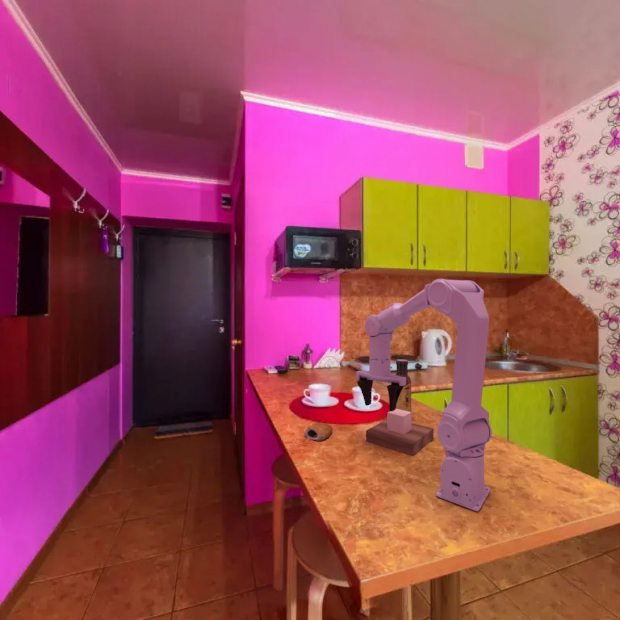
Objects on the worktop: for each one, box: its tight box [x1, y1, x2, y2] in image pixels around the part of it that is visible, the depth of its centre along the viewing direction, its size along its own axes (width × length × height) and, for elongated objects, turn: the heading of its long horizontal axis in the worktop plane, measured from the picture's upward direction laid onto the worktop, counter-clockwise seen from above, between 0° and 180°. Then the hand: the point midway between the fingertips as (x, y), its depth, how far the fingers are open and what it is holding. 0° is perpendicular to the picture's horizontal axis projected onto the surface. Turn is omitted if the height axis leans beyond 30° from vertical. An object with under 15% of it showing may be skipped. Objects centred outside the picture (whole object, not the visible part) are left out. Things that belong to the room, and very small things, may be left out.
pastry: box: [303, 422, 333, 442], centre depth 97 cm, size 9×7×4 cm
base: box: [365, 419, 434, 456], centre depth 93 cm, size 14×14×3 cm
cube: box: [386, 409, 413, 435], centre depth 93 cm, size 5×5×5 cm
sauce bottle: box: [395, 358, 412, 412], centre depth 112 cm, size 6×6×20 cm
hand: (380, 407), depth 90 cm, fingers open, 7 cm apart
